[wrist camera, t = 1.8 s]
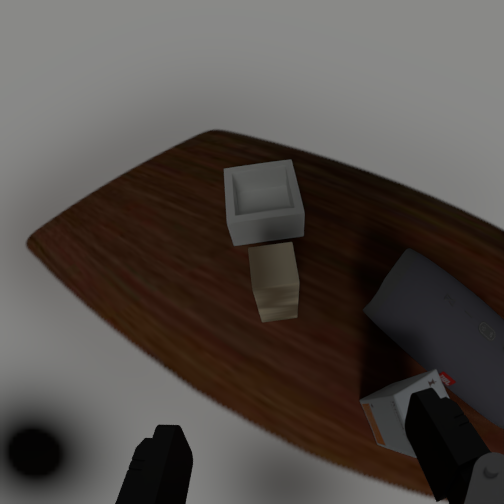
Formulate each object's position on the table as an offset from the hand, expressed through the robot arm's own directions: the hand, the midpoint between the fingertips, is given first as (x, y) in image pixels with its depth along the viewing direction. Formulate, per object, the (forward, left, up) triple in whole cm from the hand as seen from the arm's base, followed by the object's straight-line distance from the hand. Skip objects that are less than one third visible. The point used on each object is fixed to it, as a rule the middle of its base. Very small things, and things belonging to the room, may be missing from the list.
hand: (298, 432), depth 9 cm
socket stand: (0, -26, -23) cm, 35 cm away
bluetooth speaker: (-19, -3, -24) cm, 30 cm away
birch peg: (0, -13, -23) cm, 27 cm away
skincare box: (-10, +2, -23) cm, 26 cm away
